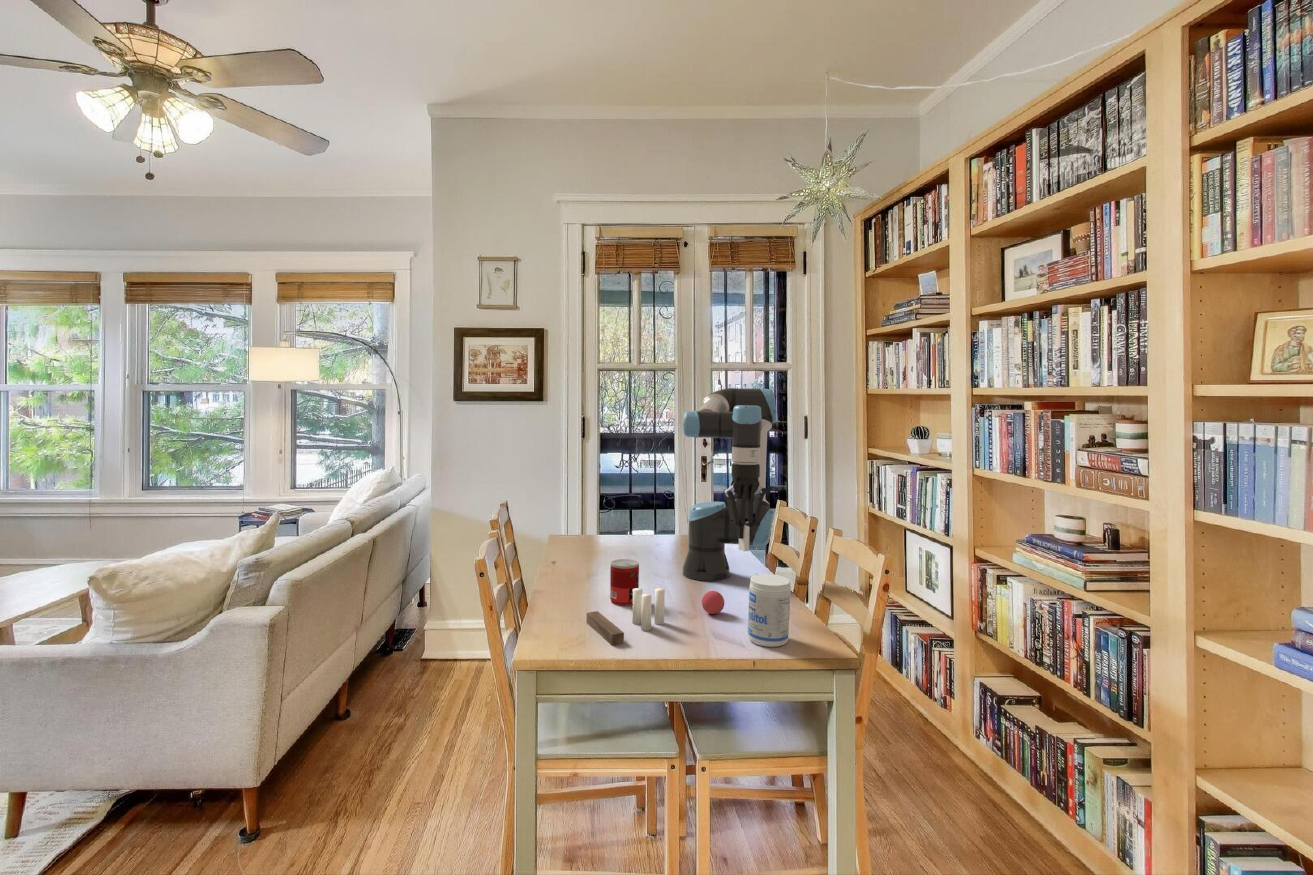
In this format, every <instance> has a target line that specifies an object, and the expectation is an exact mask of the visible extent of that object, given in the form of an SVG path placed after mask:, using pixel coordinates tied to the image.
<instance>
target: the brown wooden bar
mask: <svg viewBox="0 0 1313 875" xmlns="http://www.w3.org/2000/svg"><path fill="white" fill-rule="evenodd" d="M586 624H587V625H588V626H590V627H591V628H592V629H593V630H594V631H595V632H597V633H598V634H599V635H600V636H601V637H602V638H603V639H604V640H605V641H606V642H608V643H609V645H611V646H615V645H621V644H624V643H625V632H624V631H623V630H621V629H620V628H619V627H618V626H616V624H614V623H613V622H612V621H611V620H609V619H608V618H607V617H605V615H603V614H602V613H601V612H600V611H598V610H595V611H590V612H586Z"/></svg>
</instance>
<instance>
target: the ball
mask: <svg viewBox="0 0 1313 875" xmlns="http://www.w3.org/2000/svg"><path fill="white" fill-rule="evenodd" d="M701 607H702V609H703V610H704V611H705V612H706V613H708V614H709V615H716V614H719V613H721V612H722V611H723V609H724V607H725V599H724V596H723V595H722V593H720V592H718V591H717V590H710V591H707V592H705V593H704V594H703V596H702V598H701Z"/></svg>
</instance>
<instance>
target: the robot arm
mask: <svg viewBox="0 0 1313 875" xmlns="http://www.w3.org/2000/svg"><path fill="white" fill-rule="evenodd" d="M682 422H683V424H682V425H683V426H682V430H683V434H684V436H685V437H688V438H689V437H690V438H695V439H697V438H711V439H712V438H713V439H715V438H717V439H718V438H719V439H732V444H731V461H732V462H733V463H732V464H731V478H732V480H731V483H730V486H729V487H728V488H727V489H726V488H725V489H723V490H722V492H723V495H724V497H725V498H726V502H724V501H705V502H701V503H696V504H693V505H692V506H690V509H689V512H688V513H689V516H688V521H687V522H688V550H687V553H686V557H685V558H684V563H683V565H682V575H683V576H684V577H687V578H688V579H692V580H696V581H697V580H698V581H706V582H707V581H708V582H710V581H711V582H713V581H721V580H725V579H727V578H729V577H730V573H731V572H730V571H731V569H730V565H729V562H728V558H727V555H726V549H725V546H726V545H725V544H727V545H738V550H740V551H743V552H749V551H750V546H752V547H755V546H766V545H767V544H769V542H770V540H771V535H772V528H773V520H774V516H775V515H774V513H775V511H774V509H772V508H770V502H768V501H767V499H766V494H767V491H768V490H767V488H766V478H767V475H766V474H767V450H768V448H767V447H768V432H769V431H770V430H771V429H772V427H773V424H776V422H777V407H776V398H775V393H774V392H773V390H772V389H769V388H761V387H759V388H744V387H743V388H742V387H741V388H733V387H728V388H723V389H718V390H716V391H715V390H714V391H713V392H711V393H709V394H708V395H706V396H705V397H704V398H703V400H702V401H701V404H700V408H699V409H698V410H687V411H685V412H684V415H683V421H682ZM726 503H727V504H726Z"/></svg>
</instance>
